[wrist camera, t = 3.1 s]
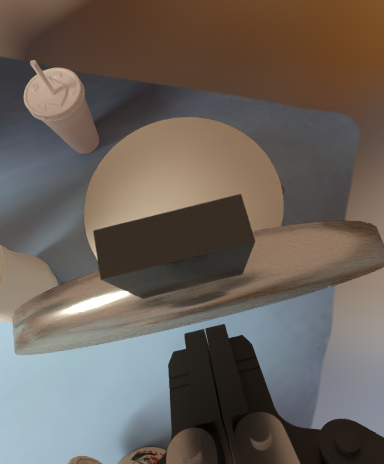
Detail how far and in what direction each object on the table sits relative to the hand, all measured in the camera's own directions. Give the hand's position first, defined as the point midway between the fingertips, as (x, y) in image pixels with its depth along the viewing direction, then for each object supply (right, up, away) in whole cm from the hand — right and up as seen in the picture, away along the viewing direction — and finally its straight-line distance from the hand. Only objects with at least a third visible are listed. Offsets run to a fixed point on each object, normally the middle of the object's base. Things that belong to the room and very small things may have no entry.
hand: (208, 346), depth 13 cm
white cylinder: (-1, +4, +28) cm, 28 cm away
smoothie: (-15, +16, +34) cm, 40 cm away
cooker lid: (0, +2, +5) cm, 5 cm away
